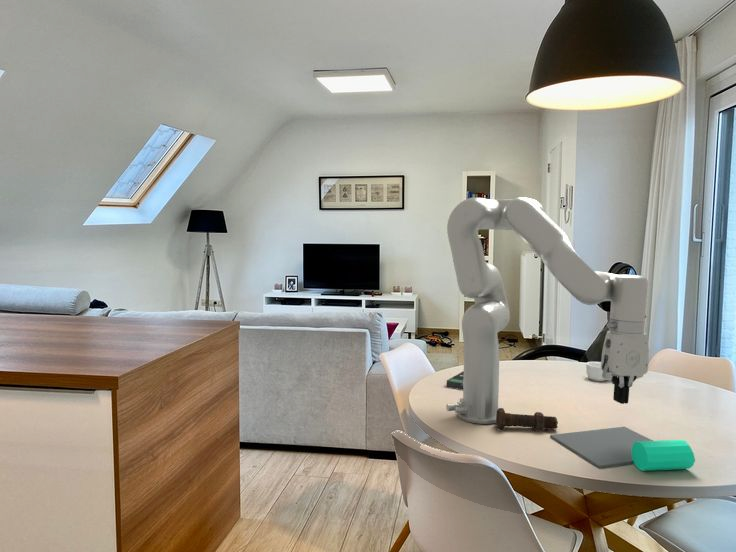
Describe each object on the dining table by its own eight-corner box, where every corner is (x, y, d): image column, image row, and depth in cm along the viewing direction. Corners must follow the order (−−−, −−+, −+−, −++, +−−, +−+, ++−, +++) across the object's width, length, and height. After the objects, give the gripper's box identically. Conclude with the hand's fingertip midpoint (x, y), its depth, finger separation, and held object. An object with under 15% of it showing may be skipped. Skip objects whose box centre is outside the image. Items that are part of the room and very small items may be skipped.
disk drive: (463, 378, 188) (445, 388, 176) (463, 370, 188) (446, 379, 176) (491, 382, 183) (475, 393, 170) (492, 374, 183) (476, 384, 170)
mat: (599, 468, 116) (599, 465, 116) (550, 437, 133) (550, 434, 133) (681, 457, 122) (681, 454, 122) (624, 428, 139) (624, 426, 139)
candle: (647, 475, 113) (700, 473, 114) (648, 448, 112) (702, 446, 113) (630, 463, 119) (681, 460, 120) (632, 437, 118) (683, 435, 119)
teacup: (583, 380, 184) (584, 365, 183) (587, 375, 190) (588, 360, 190) (615, 385, 178) (616, 369, 178) (618, 379, 185) (619, 364, 184)
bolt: (556, 438, 138) (497, 434, 139) (552, 422, 142) (495, 418, 143) (560, 423, 135) (500, 419, 136) (556, 407, 139) (498, 404, 140)
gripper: (610, 330, 121) (604, 409, 123) (665, 329, 125) (658, 405, 127) (589, 324, 129) (583, 398, 131) (641, 323, 132) (635, 395, 134)
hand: (620, 401), depth 129 cm, fingers closed
